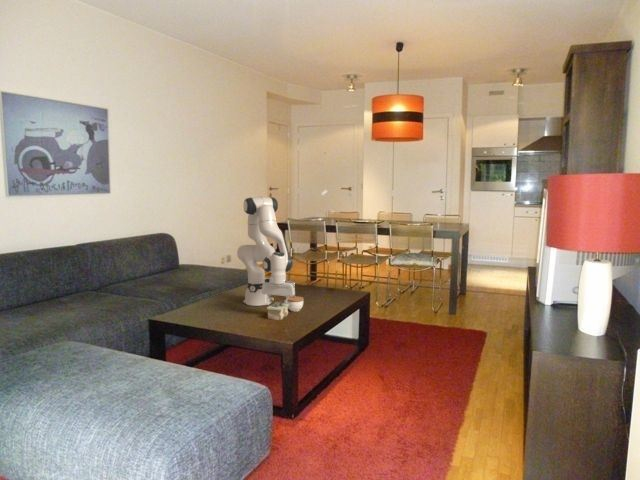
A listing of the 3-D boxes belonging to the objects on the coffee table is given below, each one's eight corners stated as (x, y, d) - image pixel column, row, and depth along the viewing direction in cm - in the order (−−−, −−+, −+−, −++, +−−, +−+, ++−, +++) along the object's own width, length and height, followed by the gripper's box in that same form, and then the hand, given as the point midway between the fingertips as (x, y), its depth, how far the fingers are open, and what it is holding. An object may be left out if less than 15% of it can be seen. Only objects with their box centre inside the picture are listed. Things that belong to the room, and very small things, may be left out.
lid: (275, 305, 303) (275, 298, 303) (289, 306, 300) (289, 300, 300) (266, 310, 291) (266, 303, 290) (280, 311, 288) (280, 305, 288)
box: (275, 313, 303) (275, 304, 303) (287, 315, 301) (288, 305, 300) (267, 318, 292) (267, 309, 291) (280, 320, 289) (280, 310, 289)
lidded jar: (306, 309, 314) (306, 295, 313) (297, 313, 305) (297, 298, 304) (292, 307, 319) (292, 293, 318) (283, 310, 310) (283, 296, 309)
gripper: (296, 280, 293) (296, 303, 295) (265, 277, 300) (264, 300, 301) (292, 281, 287) (292, 305, 289) (260, 279, 294) (260, 302, 295)
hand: (278, 302), depth 295 cm, fingers open, 8 cm apart
